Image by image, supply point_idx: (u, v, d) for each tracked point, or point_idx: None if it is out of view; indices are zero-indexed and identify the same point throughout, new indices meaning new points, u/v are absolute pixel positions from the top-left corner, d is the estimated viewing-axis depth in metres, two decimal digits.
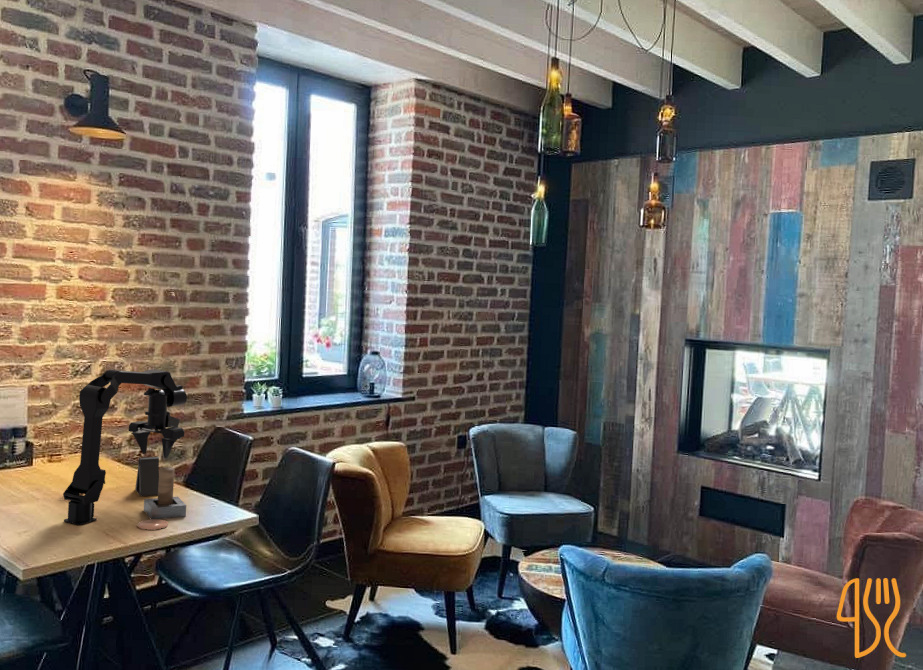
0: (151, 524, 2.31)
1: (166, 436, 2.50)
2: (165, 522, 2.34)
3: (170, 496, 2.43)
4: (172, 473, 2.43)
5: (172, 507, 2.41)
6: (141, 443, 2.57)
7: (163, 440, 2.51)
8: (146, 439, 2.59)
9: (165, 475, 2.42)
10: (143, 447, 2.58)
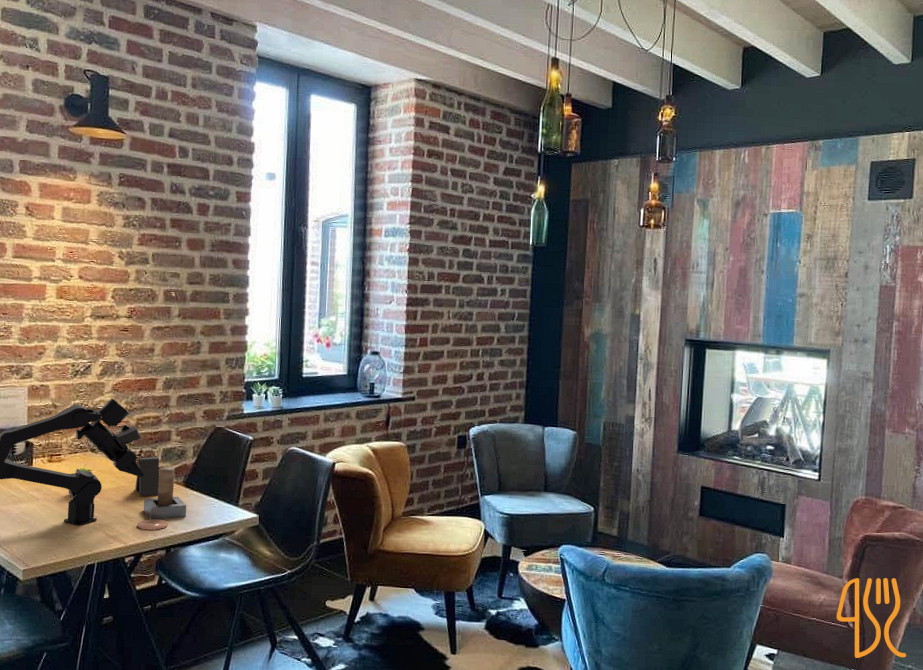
0: (151, 524, 2.31)
1: None
2: (165, 522, 2.34)
3: (170, 496, 2.43)
4: (172, 473, 2.43)
5: (172, 507, 2.41)
6: None
7: None
8: None
9: (165, 475, 2.42)
10: None
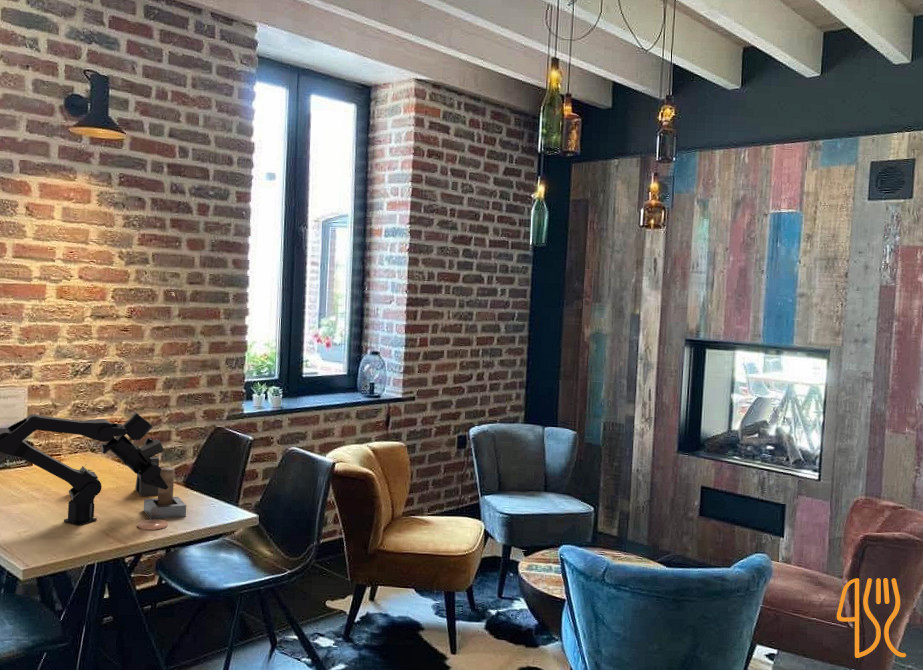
0: (151, 524, 2.31)
1: None
2: (165, 522, 2.34)
3: (170, 496, 2.43)
4: (172, 473, 2.43)
5: (172, 507, 2.41)
6: None
7: None
8: None
9: (165, 475, 2.42)
10: None
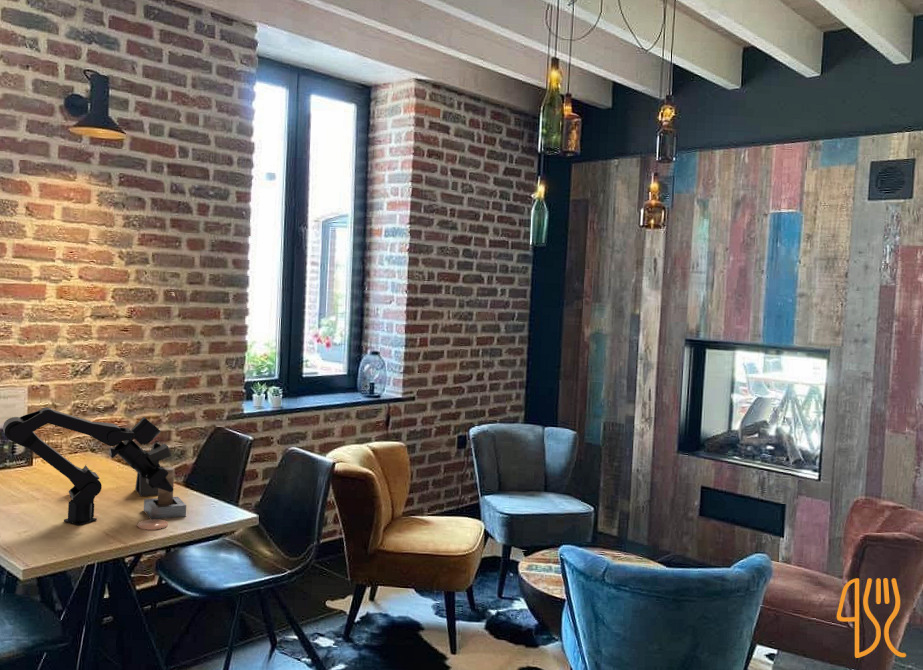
0: (151, 524, 2.31)
1: None
2: (165, 522, 2.34)
3: (170, 496, 2.43)
4: (172, 473, 2.43)
5: (172, 507, 2.41)
6: None
7: None
8: None
9: None
10: None
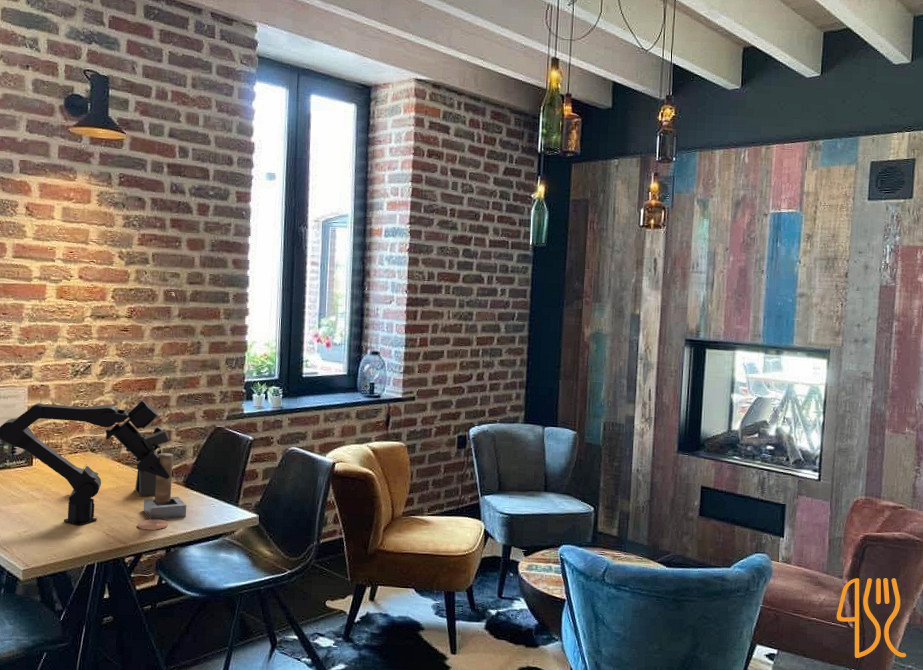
0: (151, 524, 2.31)
1: None
2: (165, 522, 2.34)
3: (167, 483, 2.37)
4: (169, 459, 2.36)
5: (172, 507, 2.41)
6: None
7: None
8: None
9: (162, 460, 2.35)
10: None
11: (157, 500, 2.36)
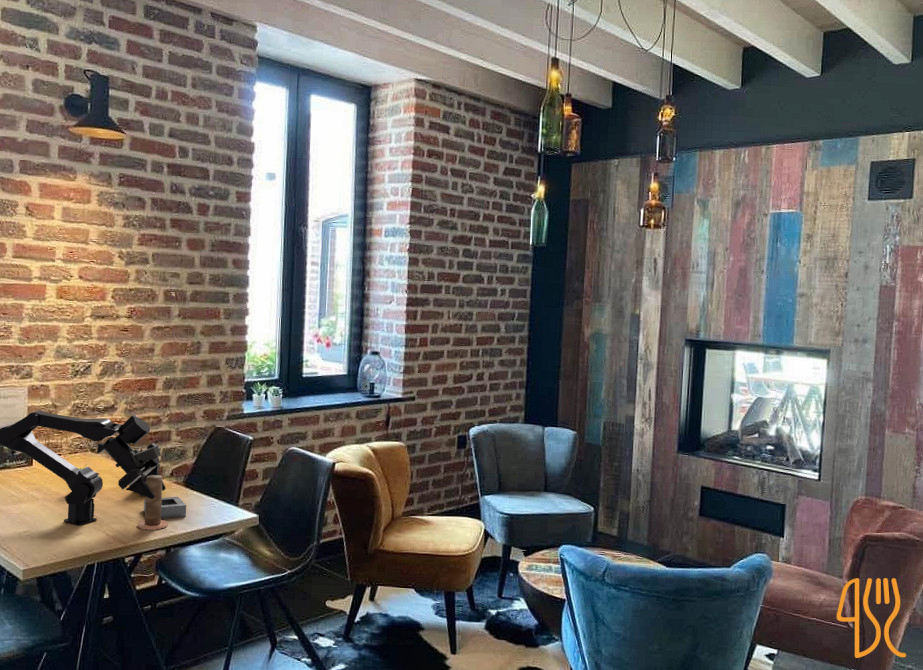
0: None
1: None
2: (165, 522, 2.34)
3: (154, 506, 2.30)
4: (157, 482, 2.30)
5: (172, 507, 2.41)
6: None
7: None
8: None
9: (149, 483, 2.29)
10: None
11: (145, 523, 2.30)
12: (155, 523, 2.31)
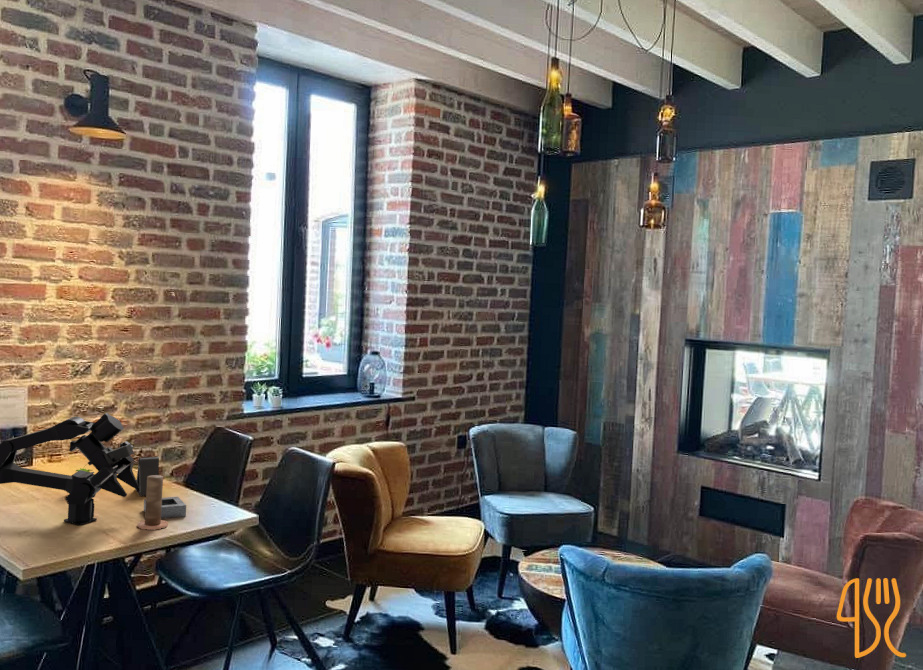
0: None
1: None
2: (165, 522, 2.34)
3: (154, 506, 2.30)
4: (157, 482, 2.30)
5: (172, 507, 2.41)
6: (126, 481, 2.36)
7: None
8: (129, 474, 2.36)
9: (149, 483, 2.29)
10: (131, 483, 2.36)
11: (145, 523, 2.30)
12: (155, 523, 2.31)
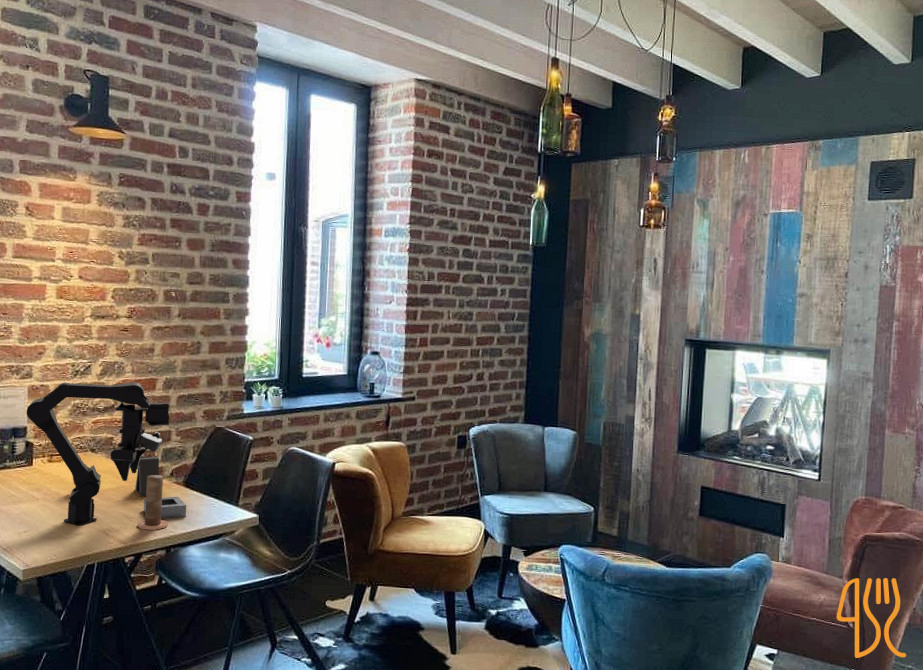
0: None
1: None
2: (165, 522, 2.34)
3: (154, 506, 2.30)
4: (157, 482, 2.30)
5: (172, 507, 2.41)
6: None
7: None
8: (137, 458, 2.40)
9: (149, 483, 2.29)
10: (132, 466, 2.40)
11: (145, 523, 2.30)
12: (155, 523, 2.31)
